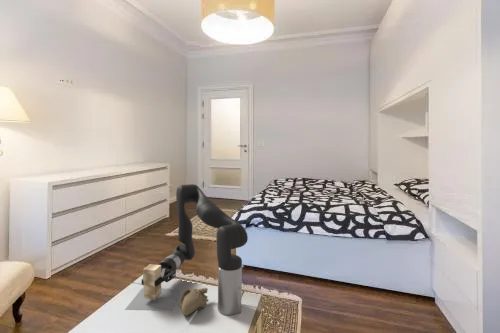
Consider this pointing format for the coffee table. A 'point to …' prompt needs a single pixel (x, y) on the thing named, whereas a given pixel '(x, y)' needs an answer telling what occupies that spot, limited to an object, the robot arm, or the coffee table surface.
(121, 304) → the coffee table surface
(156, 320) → the coffee table surface
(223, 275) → the robot arm
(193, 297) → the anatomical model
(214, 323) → the coffee table surface
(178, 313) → the coffee table surface
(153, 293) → the birch block
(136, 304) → the slate mat
